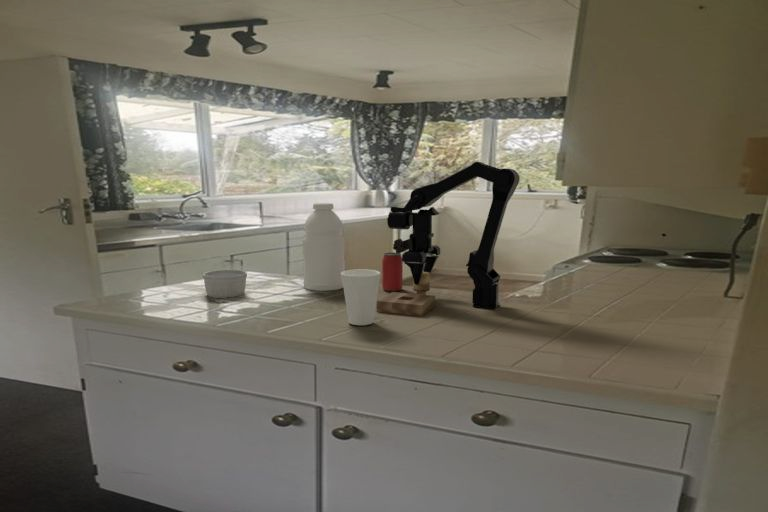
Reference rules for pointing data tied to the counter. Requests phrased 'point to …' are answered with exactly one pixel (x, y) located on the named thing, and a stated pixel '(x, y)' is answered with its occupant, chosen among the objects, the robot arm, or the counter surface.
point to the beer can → (392, 272)
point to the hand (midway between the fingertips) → (421, 281)
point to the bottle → (323, 249)
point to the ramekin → (225, 283)
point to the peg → (422, 284)
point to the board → (406, 303)
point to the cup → (361, 294)
